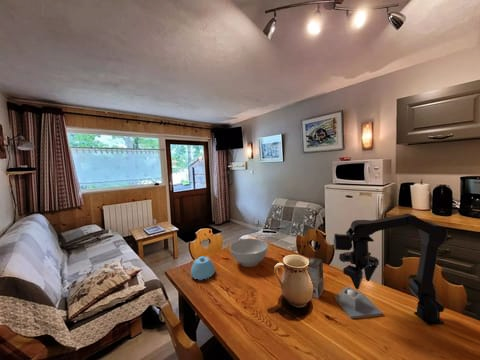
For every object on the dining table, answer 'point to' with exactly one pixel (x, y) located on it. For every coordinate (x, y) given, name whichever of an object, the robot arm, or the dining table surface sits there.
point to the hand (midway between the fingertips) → (362, 284)
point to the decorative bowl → (249, 251)
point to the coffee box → (316, 276)
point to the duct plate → (364, 310)
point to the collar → (351, 298)
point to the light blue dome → (202, 268)
